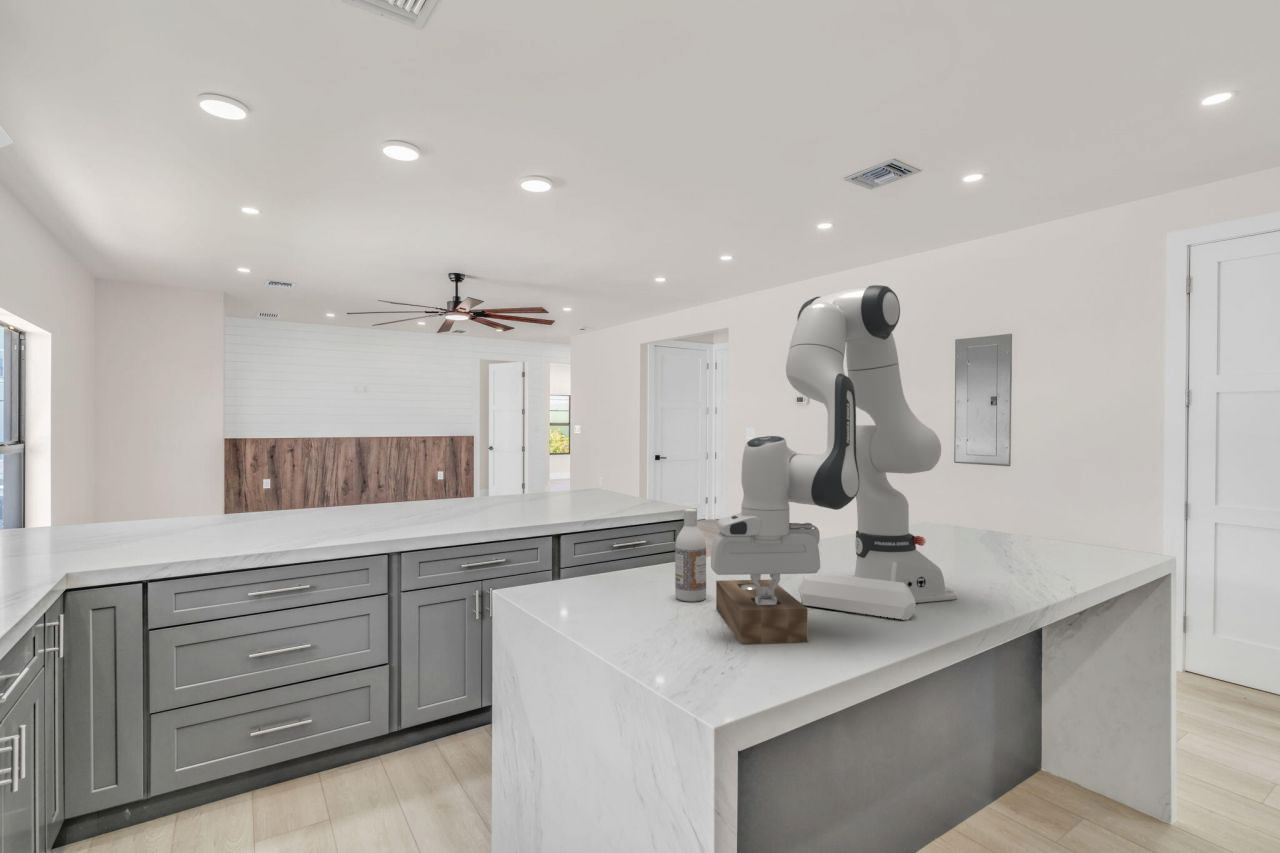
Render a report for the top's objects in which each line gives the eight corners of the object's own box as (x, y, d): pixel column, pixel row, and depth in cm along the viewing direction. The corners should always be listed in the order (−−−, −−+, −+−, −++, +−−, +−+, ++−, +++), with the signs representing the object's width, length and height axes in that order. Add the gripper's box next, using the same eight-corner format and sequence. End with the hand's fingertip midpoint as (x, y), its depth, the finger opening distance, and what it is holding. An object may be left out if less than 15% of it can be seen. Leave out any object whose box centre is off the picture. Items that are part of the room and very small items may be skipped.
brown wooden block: (771, 607, 135) (771, 579, 135) (807, 642, 113) (807, 608, 113) (716, 609, 134) (716, 580, 134) (741, 644, 112) (741, 610, 112)
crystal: (790, 590, 135) (911, 606, 122) (799, 568, 140) (916, 581, 127) (796, 615, 138) (914, 634, 125) (804, 593, 143) (919, 608, 131)
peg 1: (757, 611, 131) (757, 584, 131) (763, 617, 127) (763, 589, 127) (738, 612, 131) (738, 584, 131) (743, 617, 127) (743, 589, 127)
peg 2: (773, 624, 120) (773, 594, 120) (779, 631, 116) (779, 600, 116) (752, 625, 120) (752, 595, 120) (758, 631, 116) (758, 600, 116)
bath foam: (692, 604, 137) (691, 512, 137) (669, 598, 142) (668, 509, 142) (712, 598, 142) (712, 509, 142) (689, 592, 147) (689, 506, 147)
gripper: (813, 520, 122) (813, 592, 122) (708, 521, 120) (708, 594, 120) (825, 525, 115) (825, 600, 115) (715, 526, 114) (715, 603, 114)
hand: (765, 597), depth 118 cm, fingers closed, pressing on peg 2
